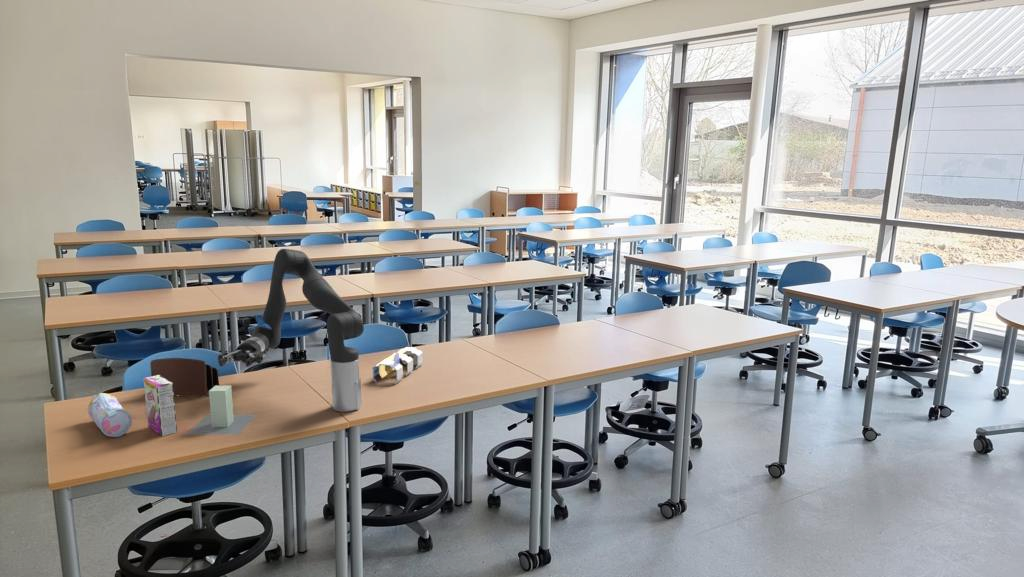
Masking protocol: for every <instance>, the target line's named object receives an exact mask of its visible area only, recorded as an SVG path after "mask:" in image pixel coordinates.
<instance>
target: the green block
mask: <svg viewBox="0 0 1024 577" xmlns="http://www.w3.org/2000/svg"><path fill="white" fill-rule="evenodd" d="M208 396H209V398H208V399H209V410H210V415H211V424H212V427H228V426H229V425H230V424H231V423H232V422H233V421H234V417H233V415H234V406H233V405H234V402H233V391H232V385H219V386H214V387H213V388H212V389H211V390H209V395H208Z"/></svg>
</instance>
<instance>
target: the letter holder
mask: <svg viewBox="0 0 1024 577" xmlns="http://www.w3.org/2000/svg"><path fill="white" fill-rule="evenodd" d="M155 375H160V376H162V377H163V378H165V379H167V380H168V381H170V382H172V383H173V393H174V395H179V396H178V397H202V396H206V398H207V397H208V396H209V390H211V389H212V388H213V387H214V386H220V380H219V369H218V368H217V367H214V366H211V365H210V364H206V361H204V360H201V359H195V358H186V357H185V358H184V357H183V358H182V357H168V358H167V357H166V358H158V359H157V358H156V359H151V361H150V376H155Z"/></svg>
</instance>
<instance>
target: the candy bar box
mask: <svg viewBox="0 0 1024 577" xmlns="http://www.w3.org/2000/svg"><path fill="white" fill-rule="evenodd" d="M142 380H143V390H144V397H145V409H146V417H147V418H146V419H147V426H148V428H149V429H151V430H153V431H154V432H155V433H157V434H158V435H159V436H160V437H165V436H167V435H168V436H169V435H172V434H176V433H178V424H177V415H176V404H175V403H176V402H175V396H174V393H173V383H172V382H170V381H168V380H167V379H165V378H163V377H162V376H160V375H155V376H151V375H150V376H146V377H143V378H142Z"/></svg>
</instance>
